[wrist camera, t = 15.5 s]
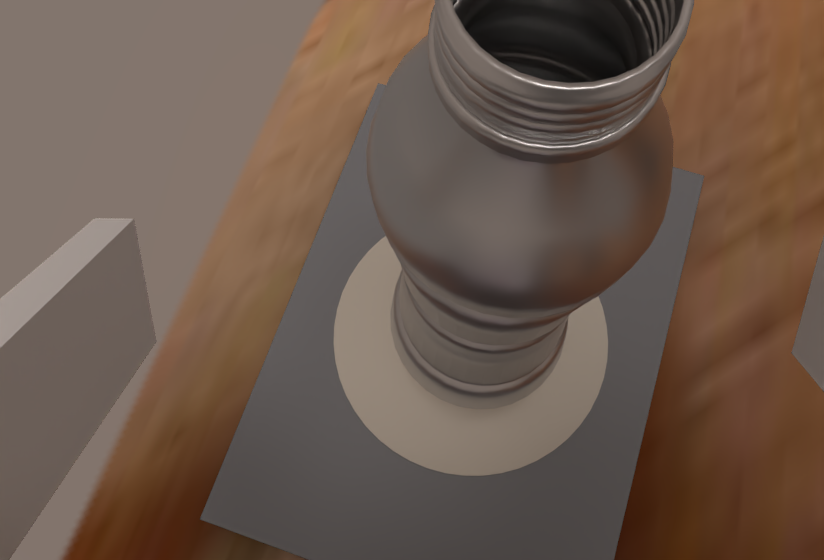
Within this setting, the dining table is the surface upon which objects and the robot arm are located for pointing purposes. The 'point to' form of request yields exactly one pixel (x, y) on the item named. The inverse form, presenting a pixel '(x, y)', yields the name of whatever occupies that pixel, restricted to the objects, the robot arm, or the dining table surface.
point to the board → (441, 414)
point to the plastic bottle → (519, 180)
